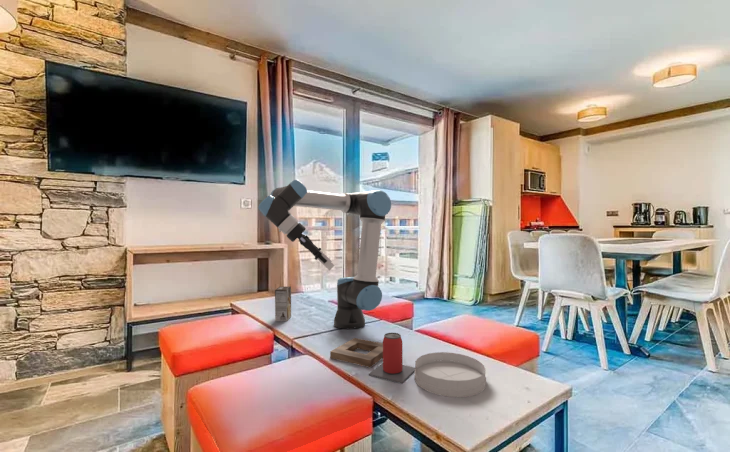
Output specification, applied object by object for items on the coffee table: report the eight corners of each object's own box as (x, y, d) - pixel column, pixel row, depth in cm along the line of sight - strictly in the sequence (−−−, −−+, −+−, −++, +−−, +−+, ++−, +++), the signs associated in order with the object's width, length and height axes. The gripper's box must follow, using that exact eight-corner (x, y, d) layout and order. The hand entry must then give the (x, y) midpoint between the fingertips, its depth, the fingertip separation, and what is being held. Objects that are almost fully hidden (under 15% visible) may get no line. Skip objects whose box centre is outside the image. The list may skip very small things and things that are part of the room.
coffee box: (279, 316, 188) (279, 286, 187) (291, 316, 188) (291, 286, 187) (274, 321, 179) (274, 289, 178) (287, 321, 178) (287, 289, 178)
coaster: (385, 362, 127) (385, 361, 127) (416, 369, 121) (416, 367, 121) (368, 375, 117) (368, 373, 117) (401, 383, 111) (401, 382, 111)
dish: (401, 374, 118) (400, 359, 118) (451, 361, 128) (451, 347, 128) (446, 405, 98) (446, 387, 98) (501, 387, 109) (502, 371, 109)
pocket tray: (354, 343, 146) (354, 337, 146) (391, 351, 137) (391, 345, 137) (330, 357, 131) (330, 351, 131) (370, 367, 123) (370, 360, 123)
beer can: (401, 375, 115) (401, 339, 115) (381, 374, 116) (381, 337, 116) (403, 367, 121) (403, 332, 121) (384, 365, 123) (384, 331, 123)
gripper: (287, 234, 152) (322, 268, 155) (283, 237, 127) (325, 277, 130) (299, 221, 153) (334, 255, 155) (298, 222, 128) (340, 262, 131)
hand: (330, 265), depth 143 cm, fingers open, 13 cm apart
